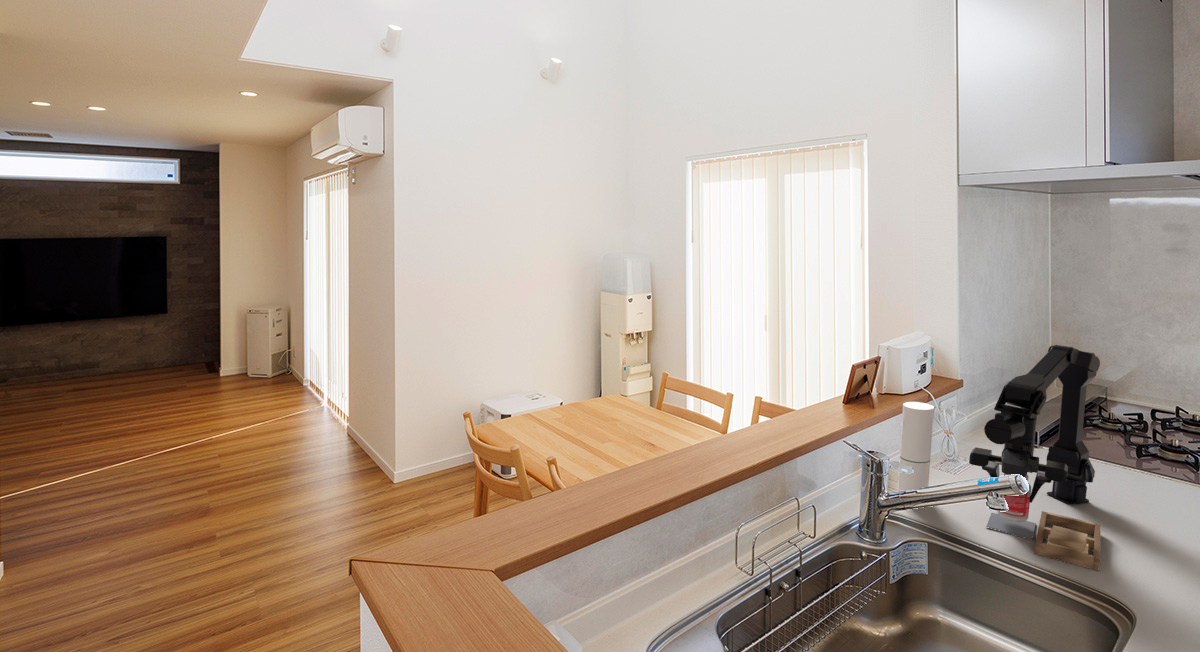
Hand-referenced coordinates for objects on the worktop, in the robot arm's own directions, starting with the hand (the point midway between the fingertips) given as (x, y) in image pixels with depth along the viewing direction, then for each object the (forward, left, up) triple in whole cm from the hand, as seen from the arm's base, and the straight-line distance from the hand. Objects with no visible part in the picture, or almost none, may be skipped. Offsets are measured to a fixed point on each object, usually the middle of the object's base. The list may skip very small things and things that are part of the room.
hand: (1014, 498), depth 144 cm
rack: (+10, +5, -7) cm, 13 cm away
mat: (0, 0, -7) cm, 7 cm away
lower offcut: (+13, +2, -8) cm, 15 cm away
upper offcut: (+13, +2, -5) cm, 14 cm away
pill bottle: (0, 0, -5) cm, 5 cm away
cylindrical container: (-19, -12, -7) cm, 24 cm away
